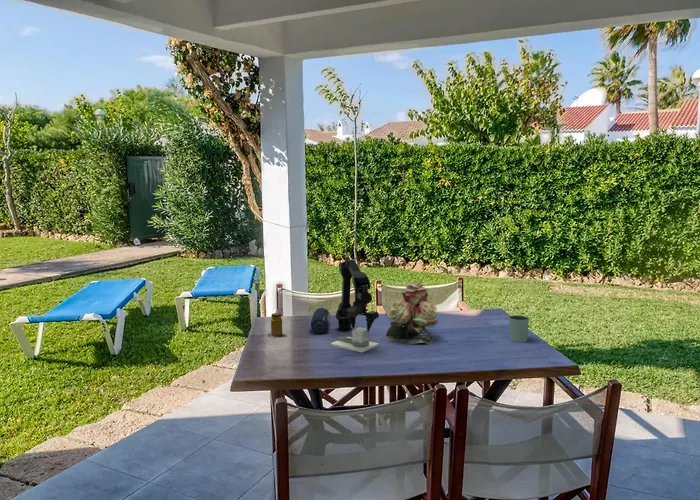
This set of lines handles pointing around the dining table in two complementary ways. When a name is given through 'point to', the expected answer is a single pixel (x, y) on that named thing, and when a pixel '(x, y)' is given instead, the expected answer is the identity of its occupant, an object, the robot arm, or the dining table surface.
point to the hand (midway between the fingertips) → (360, 329)
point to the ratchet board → (349, 346)
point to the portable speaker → (320, 320)
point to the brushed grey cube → (360, 335)
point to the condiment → (276, 326)
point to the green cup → (518, 328)
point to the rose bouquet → (412, 316)
